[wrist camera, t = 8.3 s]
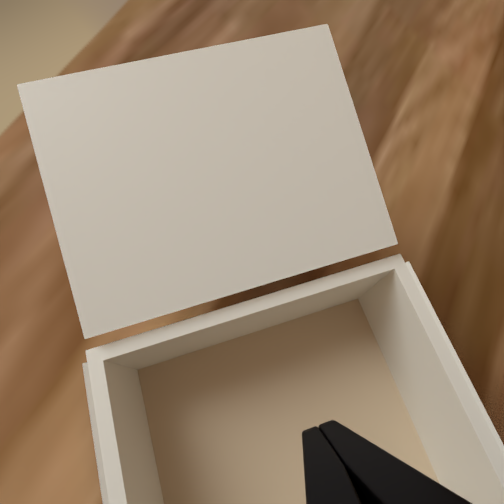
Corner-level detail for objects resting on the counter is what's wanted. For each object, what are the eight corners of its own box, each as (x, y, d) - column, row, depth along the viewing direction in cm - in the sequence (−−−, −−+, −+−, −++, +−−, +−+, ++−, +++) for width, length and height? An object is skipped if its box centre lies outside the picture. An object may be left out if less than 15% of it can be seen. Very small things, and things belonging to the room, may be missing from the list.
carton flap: (398, 243, 14) (327, 23, 14) (84, 339, 12) (16, 84, 12) (391, 245, 14) (323, 32, 15) (89, 336, 12) (23, 92, 13)
